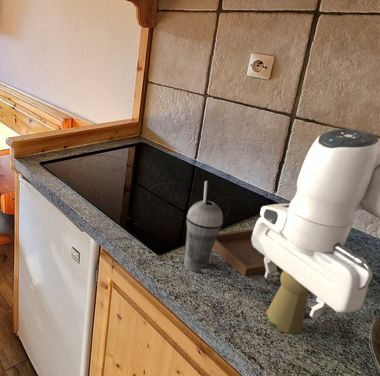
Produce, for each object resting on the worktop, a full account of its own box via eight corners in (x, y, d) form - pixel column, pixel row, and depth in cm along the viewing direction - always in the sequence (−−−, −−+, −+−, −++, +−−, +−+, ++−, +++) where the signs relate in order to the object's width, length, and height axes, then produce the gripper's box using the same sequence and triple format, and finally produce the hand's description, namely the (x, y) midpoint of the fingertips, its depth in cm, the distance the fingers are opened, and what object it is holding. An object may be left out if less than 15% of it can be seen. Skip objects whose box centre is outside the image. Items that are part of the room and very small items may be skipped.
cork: (266, 305, 78) (281, 258, 73) (302, 317, 75) (320, 269, 70) (263, 325, 73) (279, 275, 68) (301, 338, 70) (321, 288, 65)
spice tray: (286, 233, 102) (289, 223, 101) (333, 264, 90) (337, 254, 89) (204, 244, 97) (207, 234, 96) (243, 279, 85) (246, 268, 84)
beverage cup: (208, 279, 85) (228, 193, 76) (173, 268, 88) (189, 184, 79) (215, 262, 90) (234, 180, 82) (182, 252, 94) (197, 172, 85)
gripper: (393, 263, 57) (358, 336, 63) (283, 199, 75) (264, 261, 81) (358, 269, 56) (325, 343, 62) (254, 202, 74) (237, 265, 80)
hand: (290, 296), depth 72 cm, fingers open, 8 cm apart
